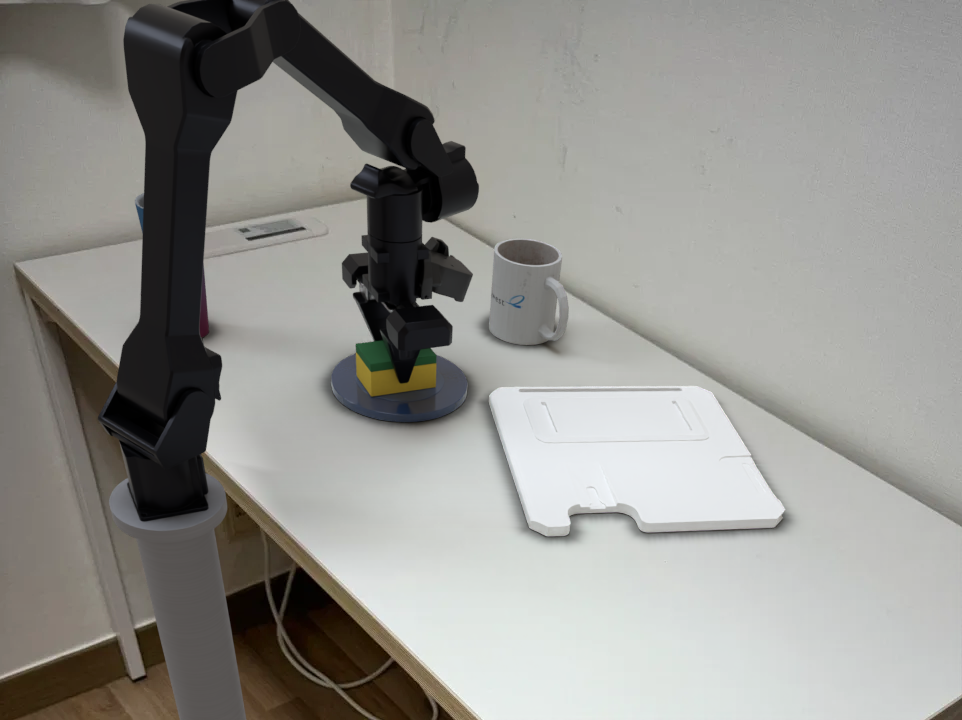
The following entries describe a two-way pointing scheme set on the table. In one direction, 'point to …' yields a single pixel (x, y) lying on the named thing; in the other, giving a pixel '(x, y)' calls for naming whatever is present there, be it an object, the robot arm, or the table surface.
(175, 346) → the robot arm
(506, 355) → the table surface
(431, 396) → the plate
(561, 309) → the mug
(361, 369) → the sponge
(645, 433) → the tray
